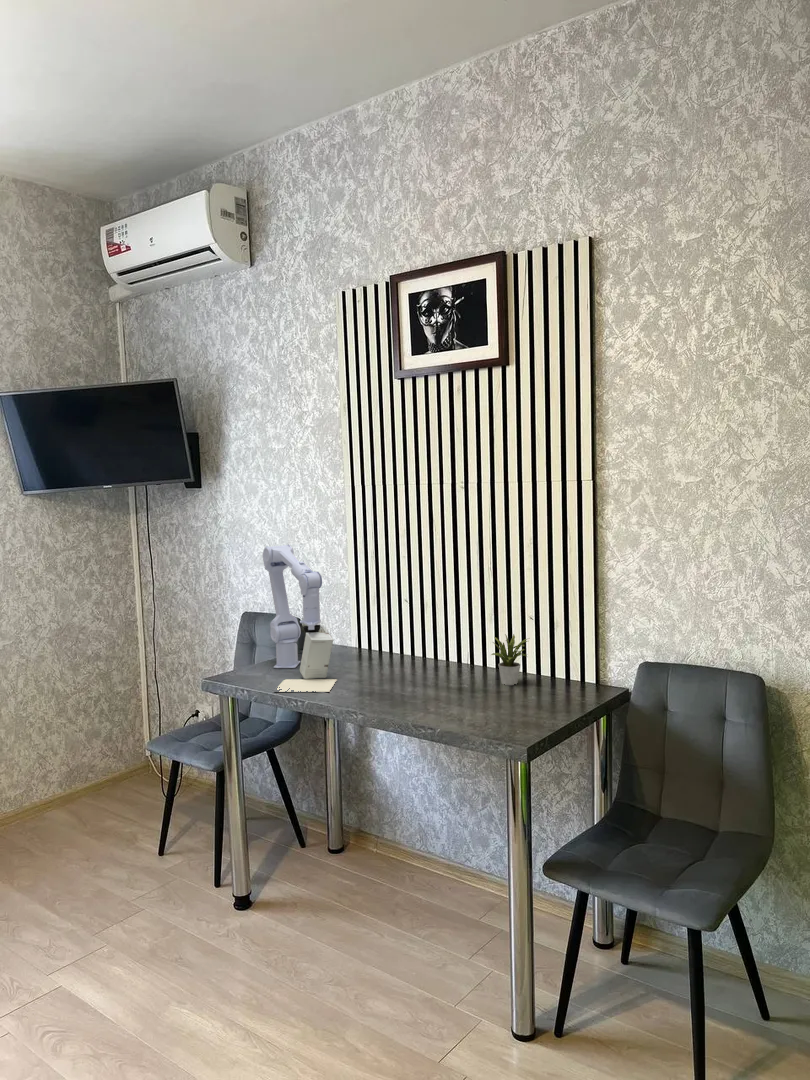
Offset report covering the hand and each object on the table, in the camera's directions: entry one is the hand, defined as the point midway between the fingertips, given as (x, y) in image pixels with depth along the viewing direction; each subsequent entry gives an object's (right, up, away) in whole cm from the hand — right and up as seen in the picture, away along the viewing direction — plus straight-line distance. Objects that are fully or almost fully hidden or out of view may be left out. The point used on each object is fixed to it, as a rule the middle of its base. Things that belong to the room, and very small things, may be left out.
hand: (312, 646), depth 272 cm
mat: (-1, -11, -12) cm, 16 cm away
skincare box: (0, -10, 0) cm, 9 cm away
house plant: (+66, -10, -15) cm, 69 cm away
